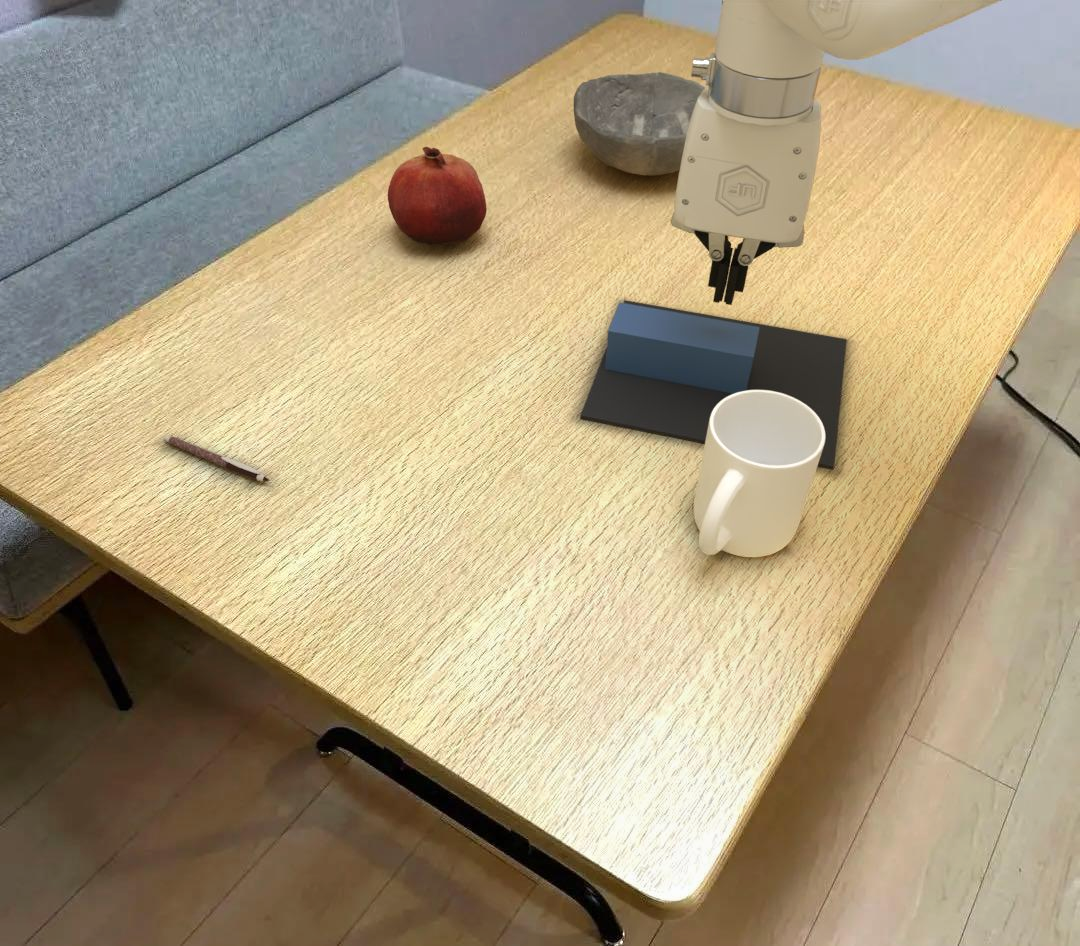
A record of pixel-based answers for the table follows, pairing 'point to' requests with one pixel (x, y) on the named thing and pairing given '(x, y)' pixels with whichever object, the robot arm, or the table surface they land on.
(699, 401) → the mat
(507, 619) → the table surface
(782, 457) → the mug
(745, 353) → the block
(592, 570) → the table surface
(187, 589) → the table surface
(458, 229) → the fruit
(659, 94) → the bowl
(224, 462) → the pen
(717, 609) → the table surface
